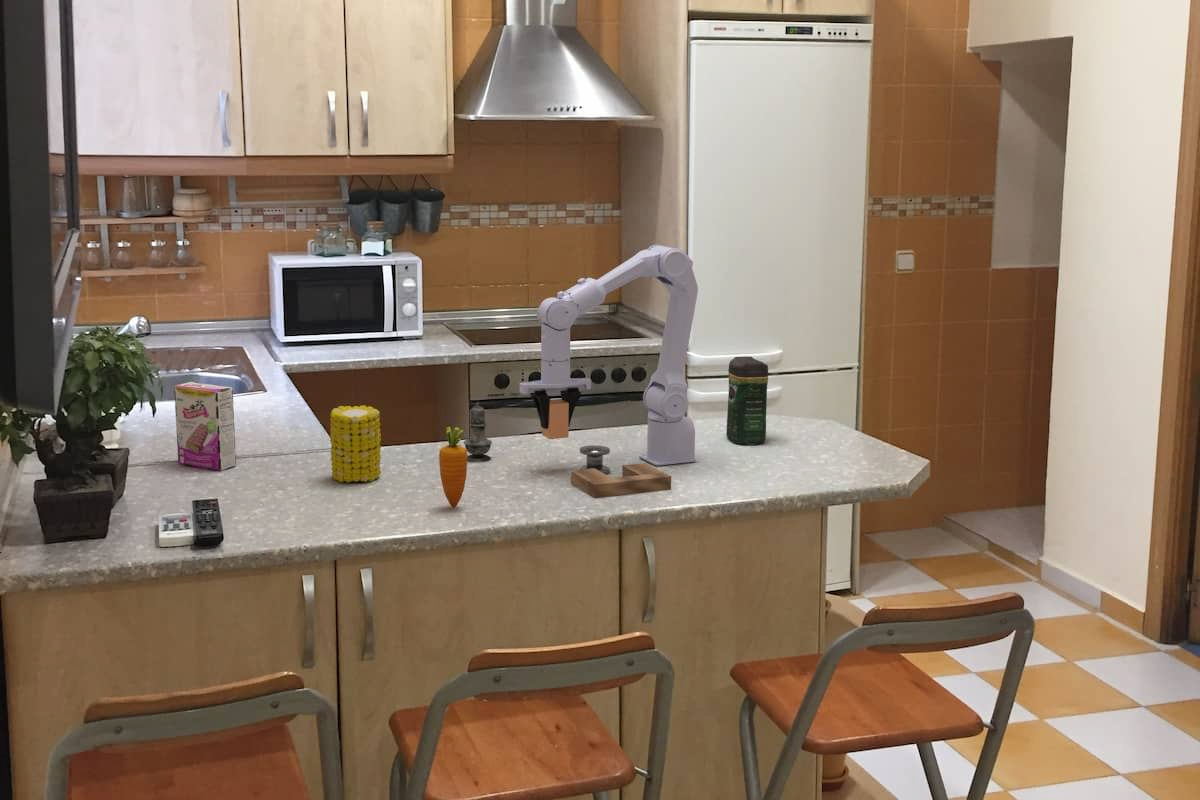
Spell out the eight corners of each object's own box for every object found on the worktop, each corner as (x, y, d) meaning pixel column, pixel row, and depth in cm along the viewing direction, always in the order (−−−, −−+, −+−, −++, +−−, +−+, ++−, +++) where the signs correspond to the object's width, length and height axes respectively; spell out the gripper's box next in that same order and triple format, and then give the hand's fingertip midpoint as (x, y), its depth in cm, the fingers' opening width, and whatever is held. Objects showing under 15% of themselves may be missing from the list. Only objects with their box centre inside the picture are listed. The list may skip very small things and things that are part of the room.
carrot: (440, 503, 238) (439, 423, 235) (467, 503, 239) (467, 423, 236) (439, 511, 233) (438, 429, 230) (467, 511, 234) (466, 429, 231)
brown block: (560, 433, 264) (560, 399, 262) (568, 437, 260) (568, 402, 259) (542, 435, 262) (542, 400, 261) (549, 439, 259) (549, 404, 257)
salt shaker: (487, 463, 268) (487, 405, 265) (460, 461, 269) (459, 404, 266) (495, 456, 273) (495, 399, 271) (468, 454, 274) (467, 398, 272)
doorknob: (601, 466, 266) (602, 444, 265) (614, 473, 261) (614, 450, 260) (574, 469, 263) (574, 446, 263) (587, 476, 258) (587, 453, 257)
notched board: (645, 475, 260) (645, 462, 259) (671, 488, 250) (671, 476, 249) (570, 483, 253) (570, 470, 252) (594, 497, 243) (594, 484, 243)
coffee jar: (770, 444, 286) (773, 360, 282) (735, 446, 284) (738, 362, 280) (755, 435, 295) (758, 353, 291) (722, 436, 293) (724, 354, 290)
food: (377, 478, 261) (377, 494, 251) (318, 467, 258) (316, 483, 249) (393, 406, 258) (394, 419, 248) (333, 394, 255) (332, 407, 245)
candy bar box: (176, 465, 263) (172, 385, 260) (194, 460, 267) (189, 381, 264) (220, 472, 258) (216, 390, 255) (237, 466, 263) (233, 386, 259)
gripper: (581, 353, 265) (580, 419, 267) (513, 358, 259) (514, 425, 261) (595, 359, 258) (595, 426, 261) (527, 364, 252) (527, 433, 255)
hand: (555, 426), depth 261 cm, fingers closed on brown block, 4 cm apart
